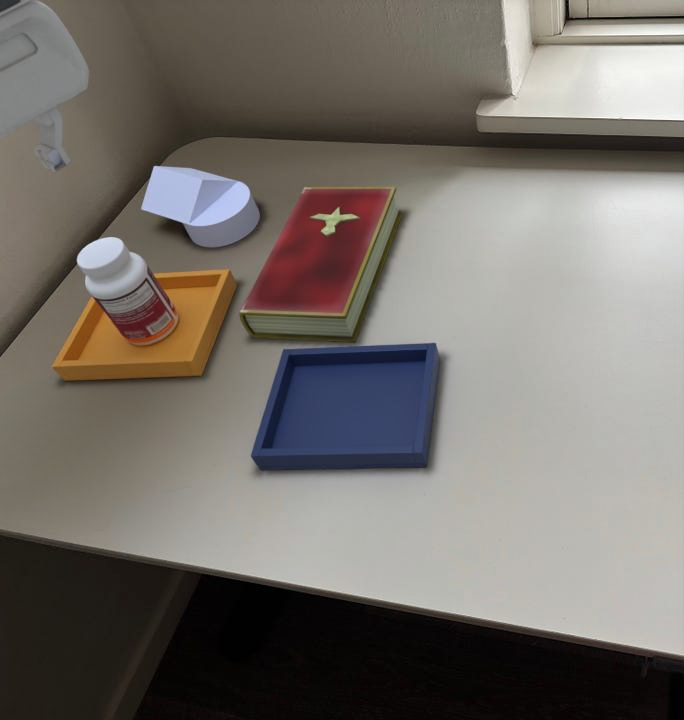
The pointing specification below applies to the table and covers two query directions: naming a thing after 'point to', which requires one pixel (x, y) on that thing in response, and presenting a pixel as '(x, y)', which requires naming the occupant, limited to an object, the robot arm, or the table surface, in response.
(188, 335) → the amber tray
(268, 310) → the hardcover book
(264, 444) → the navy tray
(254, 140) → the table surface
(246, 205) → the wedge on round base
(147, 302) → the pill bottle
